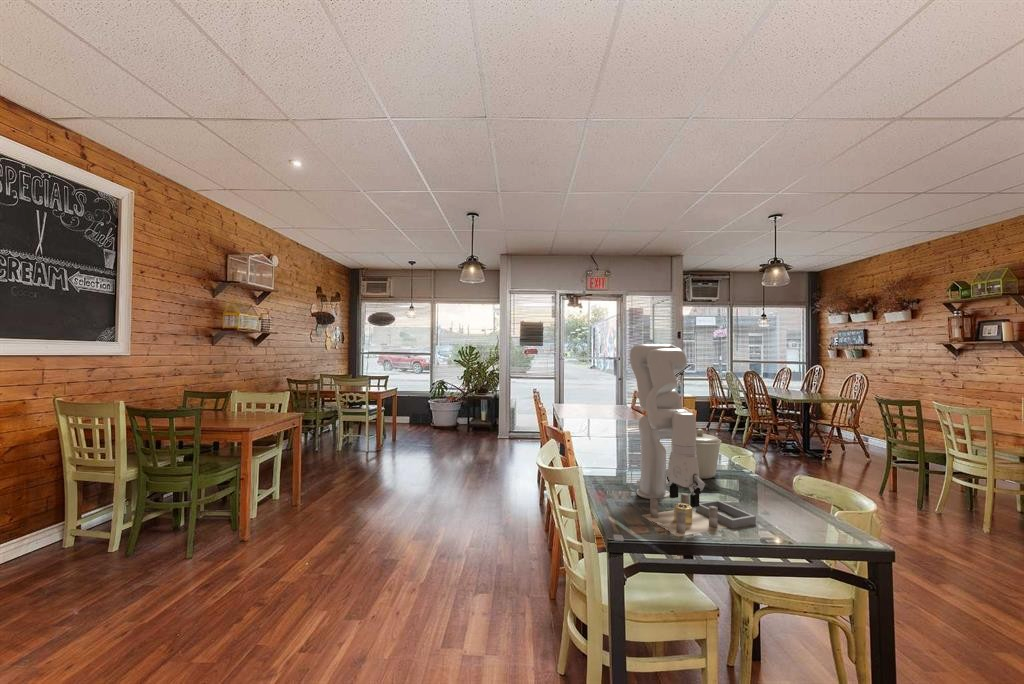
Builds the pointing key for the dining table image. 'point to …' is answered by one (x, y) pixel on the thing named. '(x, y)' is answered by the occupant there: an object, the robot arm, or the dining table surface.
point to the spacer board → (689, 528)
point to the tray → (742, 516)
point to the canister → (707, 453)
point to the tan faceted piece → (683, 508)
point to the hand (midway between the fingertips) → (684, 502)
